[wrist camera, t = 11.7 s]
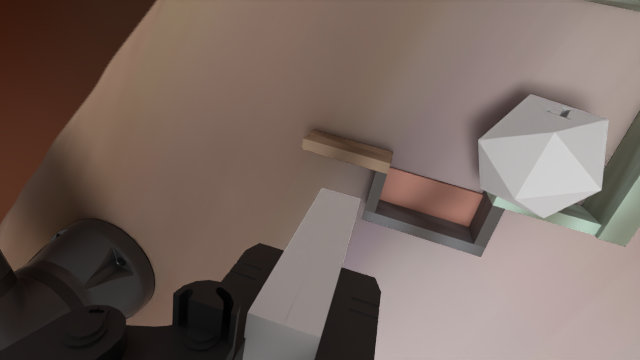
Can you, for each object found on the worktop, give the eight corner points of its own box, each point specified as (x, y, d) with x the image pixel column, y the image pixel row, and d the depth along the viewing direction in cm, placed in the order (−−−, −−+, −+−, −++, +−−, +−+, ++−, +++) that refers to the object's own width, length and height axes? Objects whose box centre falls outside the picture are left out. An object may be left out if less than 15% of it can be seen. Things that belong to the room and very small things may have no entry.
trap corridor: (302, 183, 36) (289, 198, 33) (371, -142, 25) (364, -173, 22) (571, 267, 32) (590, 295, 29) (792, -75, 21) (869, -99, 18)
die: (600, 154, 29) (664, 97, 20) (551, 241, 28) (595, 222, 20) (502, 118, 33) (520, 57, 24) (456, 195, 32) (459, 162, 23)
